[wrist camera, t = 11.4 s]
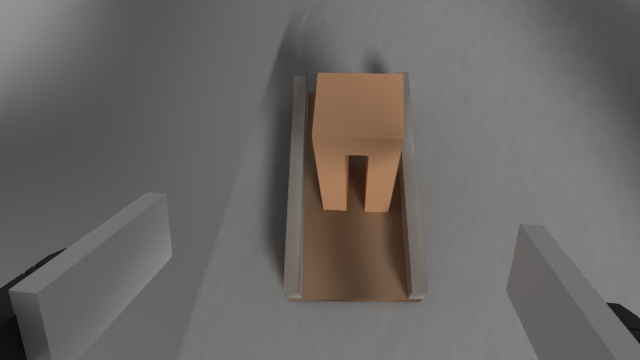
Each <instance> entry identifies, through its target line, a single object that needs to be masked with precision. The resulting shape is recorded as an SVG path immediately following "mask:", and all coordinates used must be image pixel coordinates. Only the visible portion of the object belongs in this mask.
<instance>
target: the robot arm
mask: <svg viewBox="0 0 640 360" xmlns="http://www.w3.org/2000/svg"><path fill="white" fill-rule="evenodd" d="M171 257H172V251H171V242H170V230H169V220H168V209H167V199H166V194H162V193H150V192H147V193H146V194H144V195H143V196H141V197H140V198H138V199H137V200H136V201H134V202H133V203H132V204H130V205H129V206H127V207H126V208H125V209H123V210H121V211H120V212H119V213H117V214H116V215H114V216H113V217H111V218H110V219H109V220H107V221H106V222H104V223H103V224H102V225H100V226H99V227H97V228H96V229H95V230H93V231H92V232H90V233H89V234H87V235H86V236H84V237H83V238H82V239H80V240H79V241H77V242H76V243H74V244H73V245H72V246H70V247H69V248H65V249H63V250H61V251H58V252H56V253H53V254H51V255H49V256H47V257H46V258H44V259H43V260H42V261H40V262H38V263H37V264H36V265H35V266H33V267H31V268H30V269H28V270H27V271H25V273H24V274H21V275H20V276H18V277H16V278H15V279H14V280H12V281H11V282H9V283H8V284H6V285H5V286H3V287H2V288H0V360H78V359H79V357H80V356H81V355H82V354H83V353H84V352H85V351H86V350H87V349H88V348H89V347H90V346H91V344H92V343H93V342H94V341H95V340H96V339H97V338H98V337H99V336H100V335H101V333H102V332H103V331H104V330H105V329H106V328H107V327H108V326H109V325H110V324H111V323H112V321H113V320H114V319H115V318H116V317H117V316H118V315H119V314H120V313H121V312H122V311H123V309H124V308H125V307H126V306H127V305H128V304H129V303H130V302H131V301H132V300H133V299H134V297H135V296H136V295H137V294H138V293H139V292H140V291H141V290H142V289H143V288H144V287H145V285H146V284H147V283H148V282H149V281H150V280H151V279H152V278H153V277H154V276H155V275H156V273H157V272H158V271H159V270H160V269H161V268H162V267H163V266H164V265H165V264H166V262H167V261H168V260H169V259H170V258H171ZM506 292H507V294H508V296H509V298H510V300H511V302H512V304H513V306H514V308H515V311H516V313H517V315H518V317H519V319H520V321H521V323H522V325H523V328H524V330H525V332H526V334H527V336H528V338H529V340H530V342H531V344H532V347H533V349H534V351H535V353H536V355H537V357H538V359H539V360H640V318H639V317H638V316H636V315H635V314H633V313H632V312H630V311H629V310H628V309H626V308H625V307H623V306H622V305H620V304H615V303H606V302H605V301H604V300H603V299H602V297H601V296H600V295H599V294H598V292H597V291H596V290H595V289H594V288H593V286H592V285H591V284H590V283H589V281H588V280H587V279H586V278H585V276H584V275H583V274H582V273H581V272H580V270H579V269H578V268H577V267H576V265H575V264H574V263H573V262H572V261H571V259H570V258H569V257H568V256H567V254H566V253H565V252H564V251H563V250H562V248H561V247H560V246H559V245H558V243H557V242H556V241H555V240H554V238H553V237H552V236H551V235H550V234H549V232H548V231H547V230H546V229H545V227H544V226H539V225H527V224H520V228H519V232H518V237H517V242H516V246H515V251H514V256H513V261H512V265H511V270H510V275H509V279H508V284H507V289H506Z"/></svg>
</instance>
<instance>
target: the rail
mask: <svg viewBox="0 0 640 360" xmlns="http://www.w3.org/2000/svg"><path fill="white" fill-rule="evenodd" d="M396 74H403V99H404V141H403V145H402V150H401V155H400V159H399V164H398V169H397V173H396V178H395V183H394V187H393V192H392V197H391V201H390V206H389V211H388V213H387V212H365V186H366V159H367V156H362V155H349V174H348V193H347V211H344V210H324V209H323V203H322V197H321V191H320V184H319V178H318V172H317V166H316V160H315V153H314V147H313V141H312V128H313V118H314V108H315V98H316V93H309V91H308V84H307V77H306V75H294V93H293V112H292V131H291V150H290V169H289V187H288V206H287V225H286V244H285V263H284V282H283V292H284V294H285V295H286V296H287V298H288V299H289V300H290V301H357V302H420V301H421V300H422V299H423V297H424V296H425V295H426V294H427V293H428V287H427V276H426V265H425V254H424V243H423V232H422V221H421V209H420V198H419V187H418V176H417V165H416V154H415V143H414V132H413V121H412V110H411V99H410V88H409V77H408V72H396Z"/></svg>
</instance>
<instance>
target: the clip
mask: <svg viewBox="0 0 640 360" xmlns="http://www.w3.org/2000/svg"><path fill="white" fill-rule="evenodd" d="M312 141H313V147H314V153H315V160H316V166H317V172H318V178H319V184H320V191H321V197H322V203H323V209H324V210H344V211H347V193H348V174H349V155H362V156H367V159H366V186H365V212H387V213H388V211H389V206H390V201H391V197H392V192H393V187H394V183H395V178H396V173H397V169H398V164H399V159H400V155H401V150H402V145H403V141H404V99H403V74H372V73H318V77H317V88H316V98H315V108H314V118H313V128H312Z"/></svg>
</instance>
